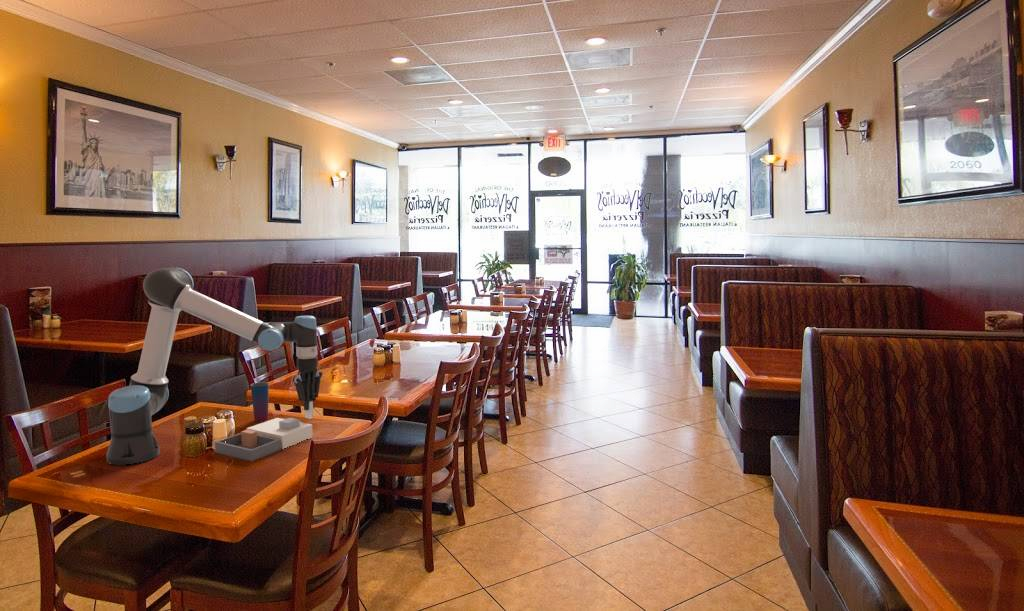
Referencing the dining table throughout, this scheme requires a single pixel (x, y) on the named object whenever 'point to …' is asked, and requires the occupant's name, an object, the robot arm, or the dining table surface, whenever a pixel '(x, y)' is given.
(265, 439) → the box
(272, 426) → the raised board
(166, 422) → the dining table surface
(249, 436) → the terracotta tile
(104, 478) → the dining table surface
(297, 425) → the slate tile
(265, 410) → the cup
